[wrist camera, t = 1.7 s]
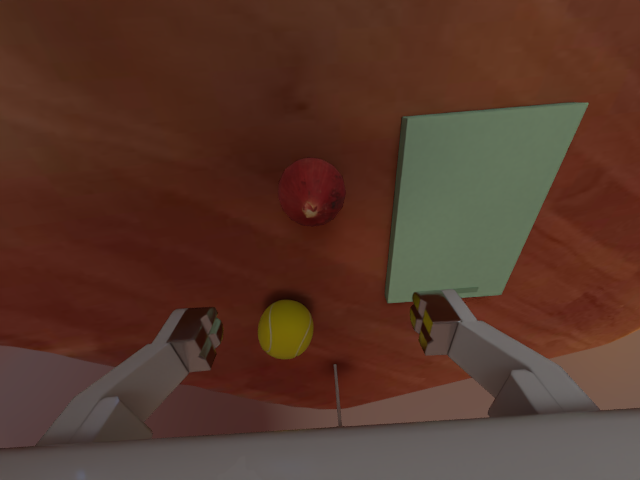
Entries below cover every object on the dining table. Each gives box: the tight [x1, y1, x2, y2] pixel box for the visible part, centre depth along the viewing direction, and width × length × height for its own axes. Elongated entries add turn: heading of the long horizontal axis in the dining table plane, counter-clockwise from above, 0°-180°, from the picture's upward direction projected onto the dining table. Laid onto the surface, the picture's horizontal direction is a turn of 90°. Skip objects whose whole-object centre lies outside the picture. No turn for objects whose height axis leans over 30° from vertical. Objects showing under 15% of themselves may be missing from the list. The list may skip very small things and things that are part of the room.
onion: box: [278, 157, 346, 227], centre depth 20 cm, size 6×6×8 cm
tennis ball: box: [258, 300, 313, 359], centre depth 30 cm, size 7×7×7 cm
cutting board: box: [385, 102, 589, 303], centre depth 26 cm, size 22×15×2 cm
